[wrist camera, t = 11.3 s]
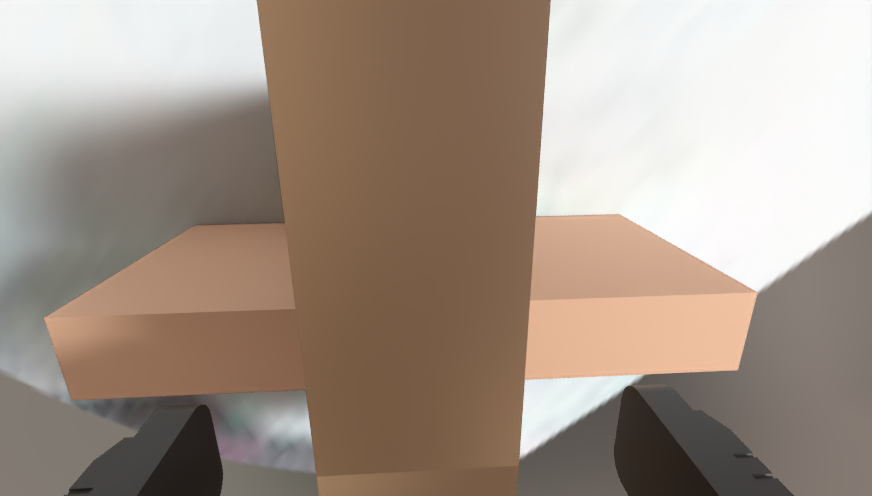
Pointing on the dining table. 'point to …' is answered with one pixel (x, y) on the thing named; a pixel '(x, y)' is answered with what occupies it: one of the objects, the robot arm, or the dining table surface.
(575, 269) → the horizontal wooden crosspiece
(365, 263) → the upright wooden board
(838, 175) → the dining table surface
